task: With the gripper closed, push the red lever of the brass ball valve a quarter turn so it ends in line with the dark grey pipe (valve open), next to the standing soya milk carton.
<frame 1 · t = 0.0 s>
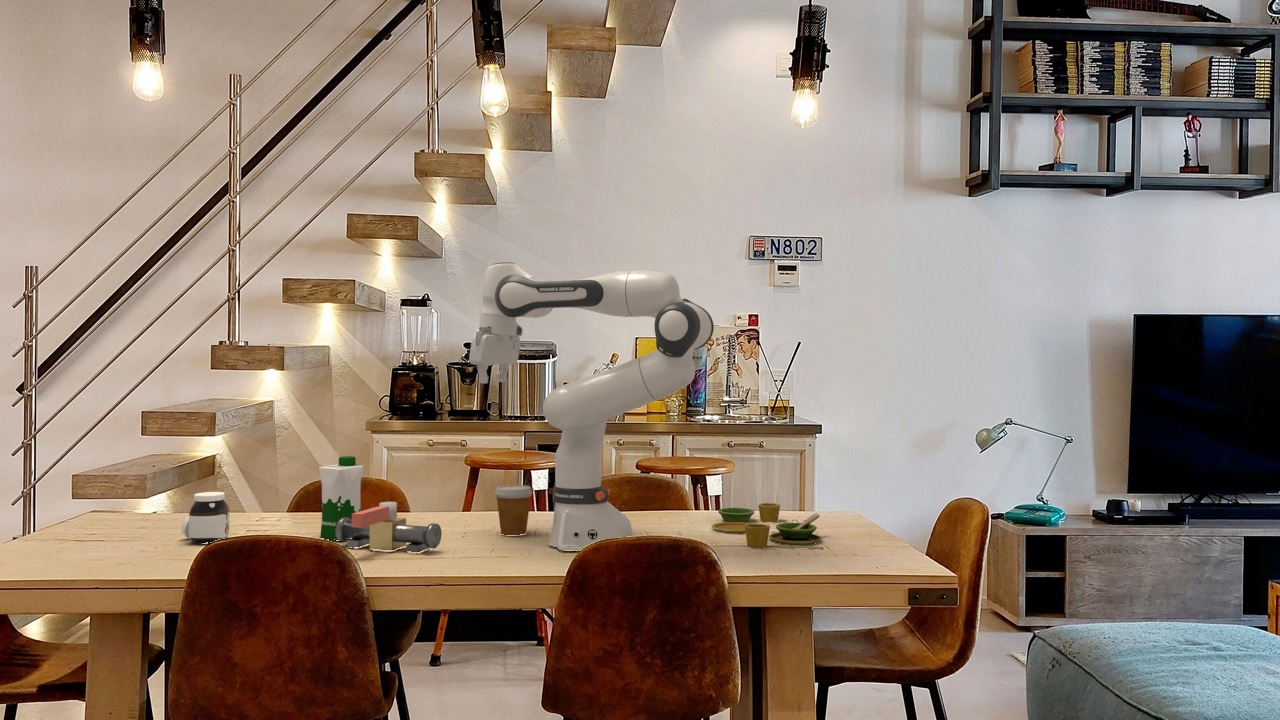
hand: (492, 382, 238), 39 cm above the table, tool pointing down, fingers open, 8 cm apart
spread jar: (203, 541, 234), on the table
valve: (388, 549, 225), on the table
lever: (375, 514, 219), point 9 cm above the table, hinge at 0.0°
disposable coffee cup: (513, 535, 243), on the table
tableware set: (764, 535, 247), on the table
soya milk: (340, 539, 237), on the table
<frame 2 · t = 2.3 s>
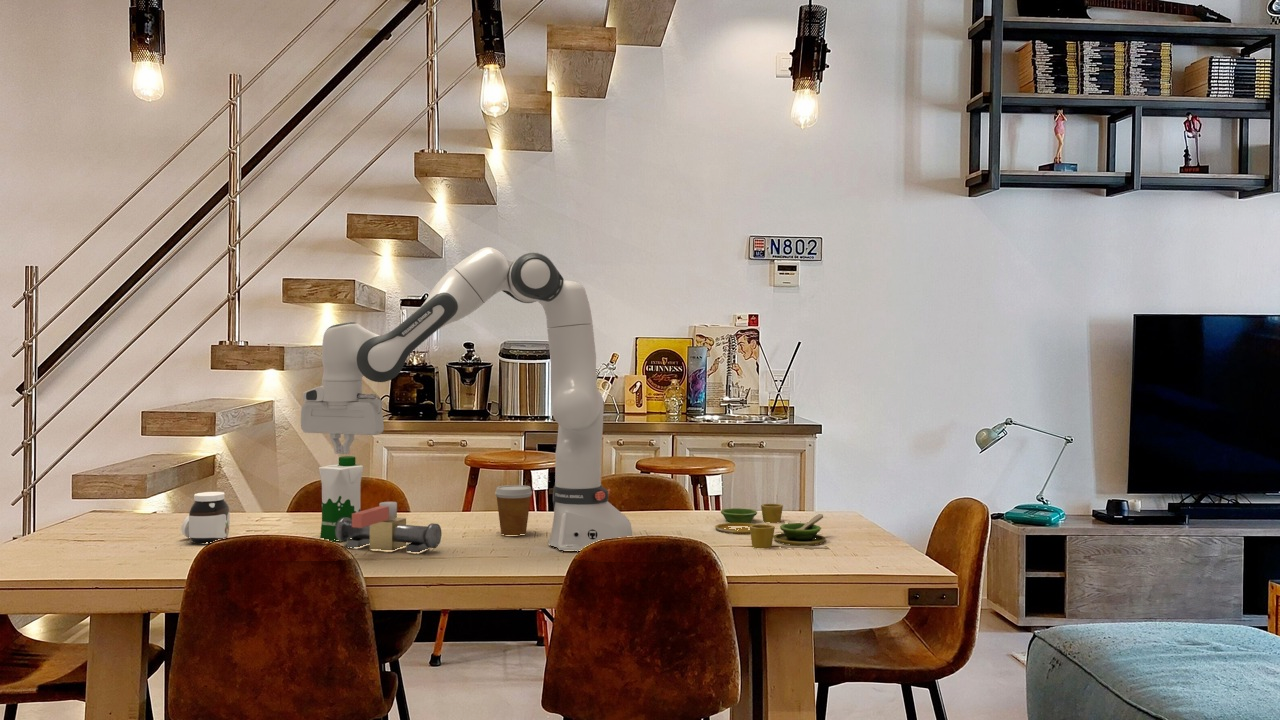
hand: (342, 453, 219), 23 cm above the table, tool pointing down, fingers closed
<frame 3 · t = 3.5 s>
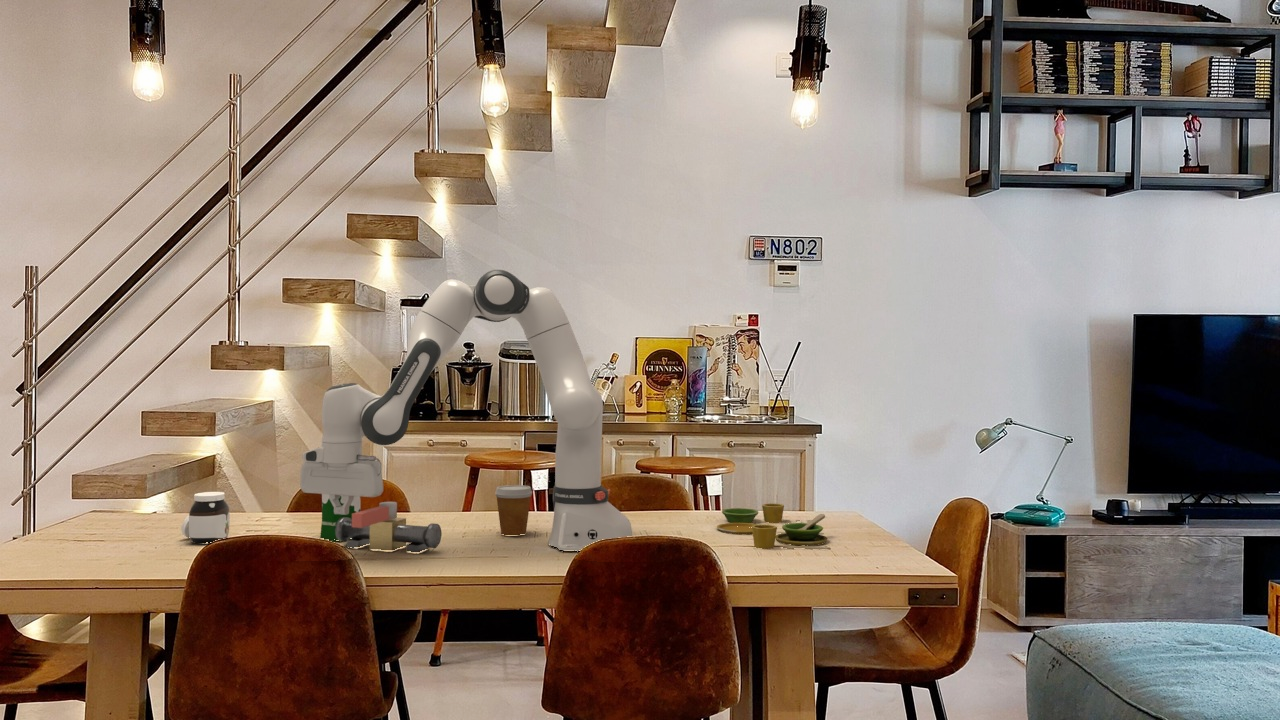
hand: (341, 514, 219), 9 cm above the table, tool pointing down, fingers closed
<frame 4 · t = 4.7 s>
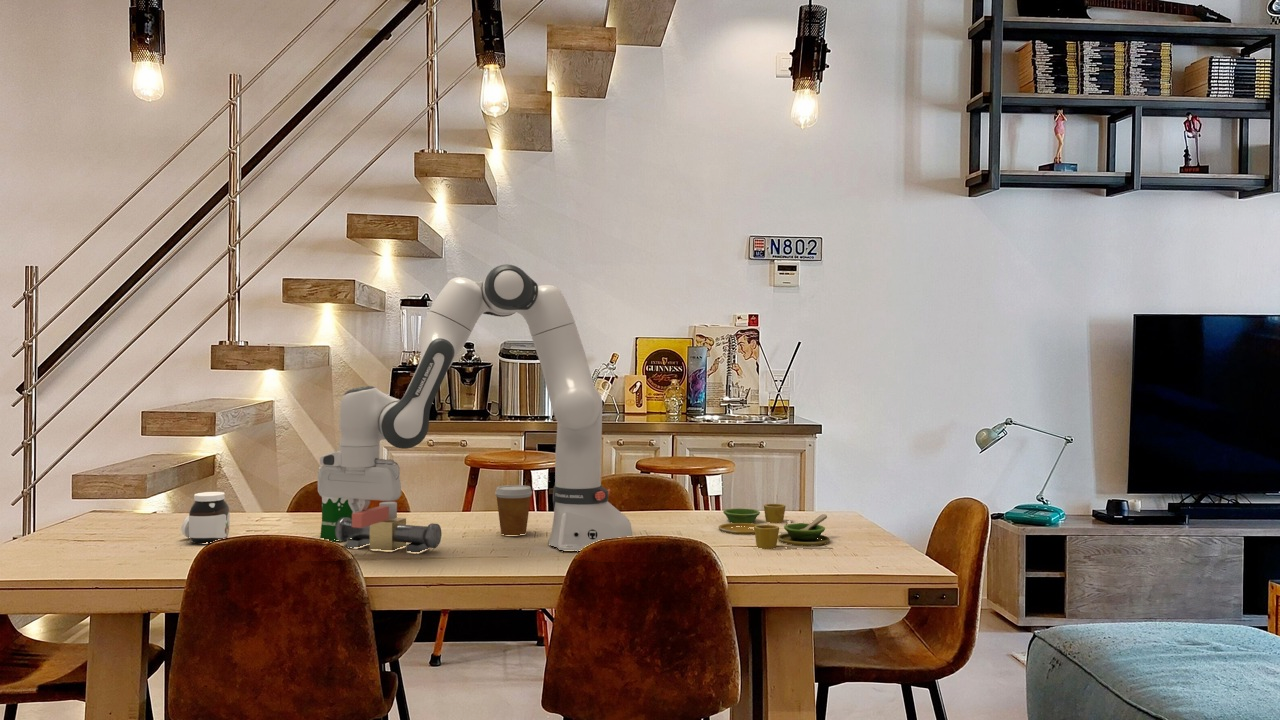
hand: (359, 518, 218), 8 cm above the table, tool pointing down, fingers closed
lever: (375, 514, 219), point 9 cm above the table, hinge at 0.0°, touching gripper
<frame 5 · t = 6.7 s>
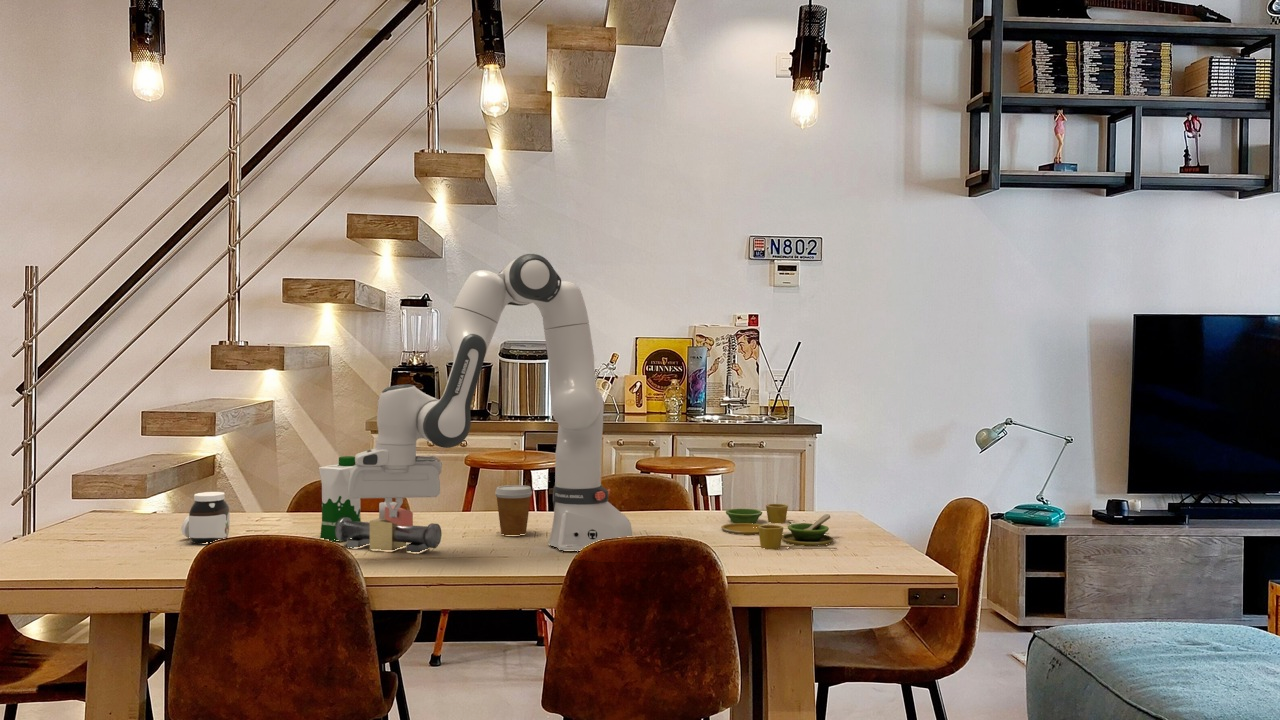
hand: (393, 517, 215), 9 cm above the table, tool pointing down, fingers closed
lever: (395, 513, 220), point 9 cm above the table, hinge at 52.5°, touching gripper
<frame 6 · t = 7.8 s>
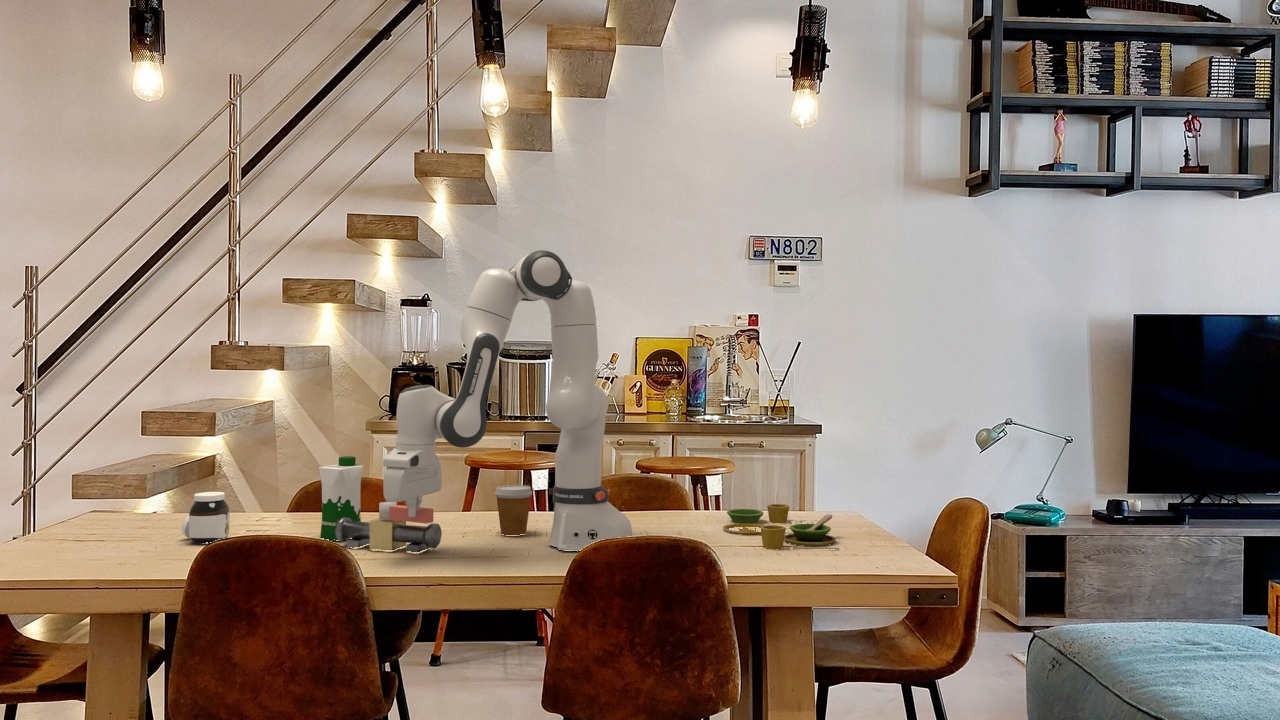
hand: (413, 516, 218), 9 cm above the table, tool pointing down, fingers closed, pressing on lever
lever: (405, 512, 222), point 9 cm above the table, hinge at 80.7°, touching gripper
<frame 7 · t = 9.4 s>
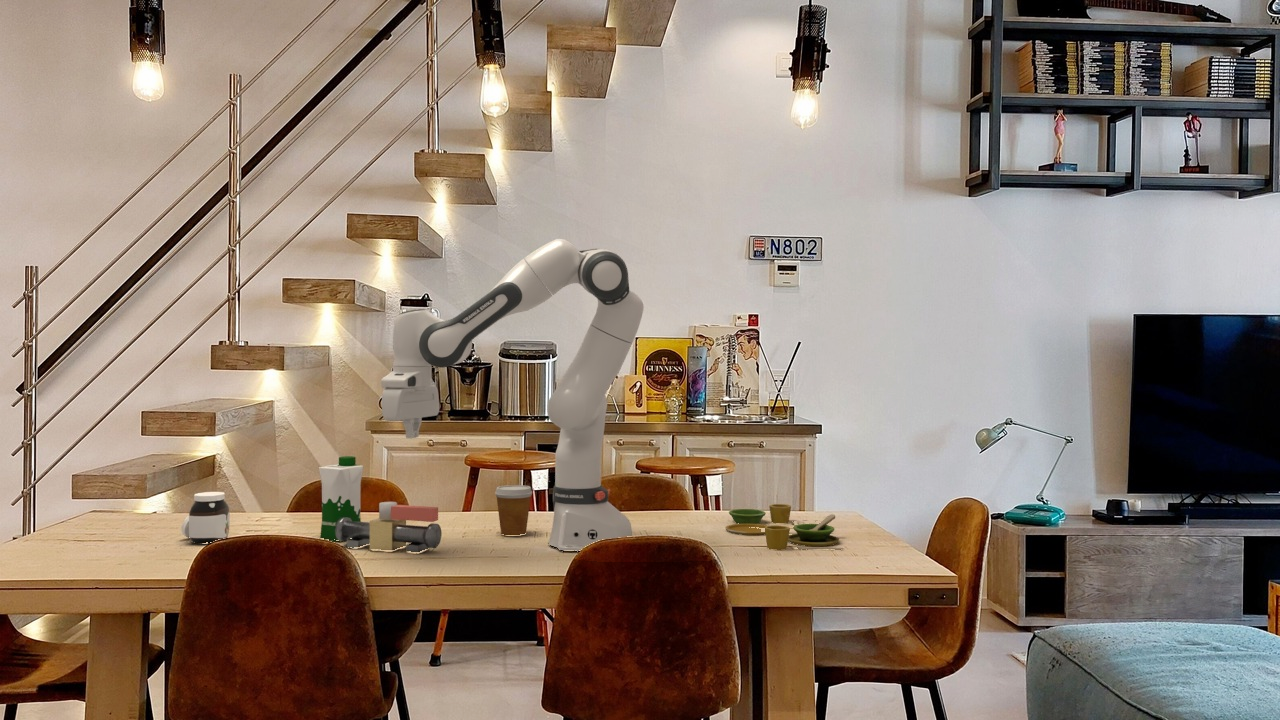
hand: (412, 437, 224), 26 cm above the table, tool pointing down, fingers closed
lever: (407, 511, 223), point 9 cm above the table, hinge at 90.9°
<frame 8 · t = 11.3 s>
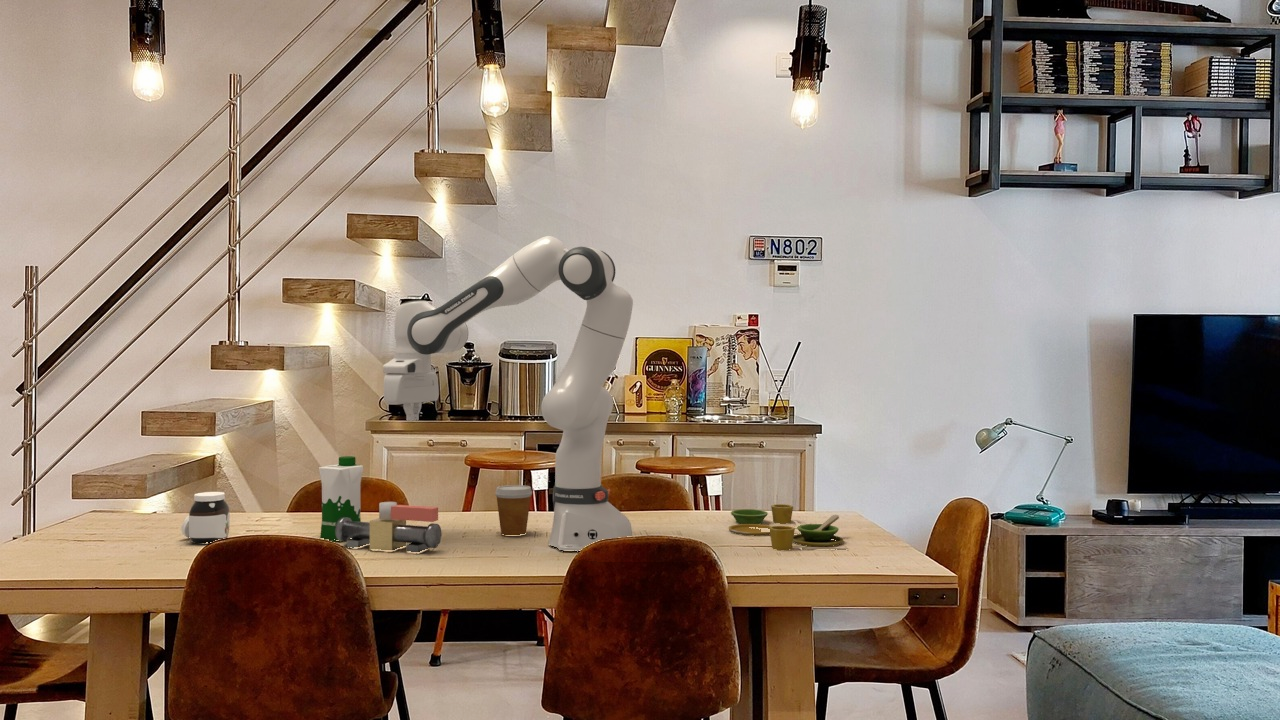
hand: (412, 421, 238), 29 cm above the table, tool pointing down, fingers closed
at the end: lever at +91° (first picture: +0°); soya milk tilted 0° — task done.
